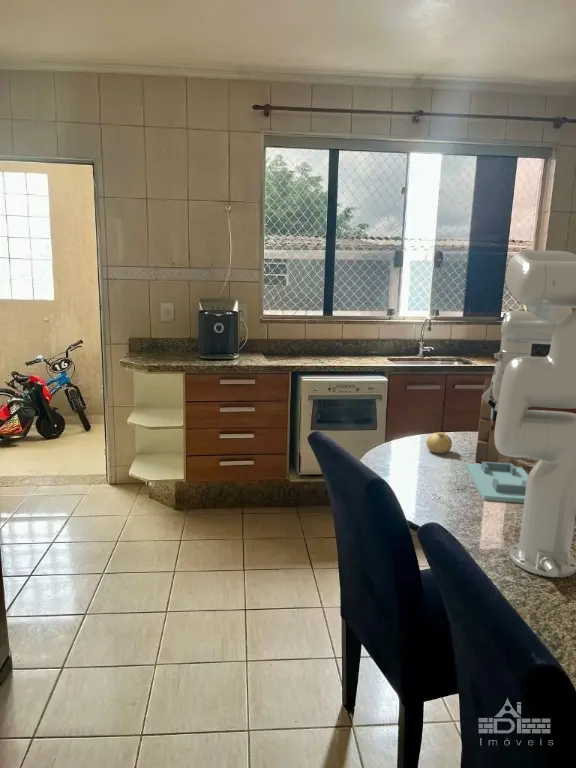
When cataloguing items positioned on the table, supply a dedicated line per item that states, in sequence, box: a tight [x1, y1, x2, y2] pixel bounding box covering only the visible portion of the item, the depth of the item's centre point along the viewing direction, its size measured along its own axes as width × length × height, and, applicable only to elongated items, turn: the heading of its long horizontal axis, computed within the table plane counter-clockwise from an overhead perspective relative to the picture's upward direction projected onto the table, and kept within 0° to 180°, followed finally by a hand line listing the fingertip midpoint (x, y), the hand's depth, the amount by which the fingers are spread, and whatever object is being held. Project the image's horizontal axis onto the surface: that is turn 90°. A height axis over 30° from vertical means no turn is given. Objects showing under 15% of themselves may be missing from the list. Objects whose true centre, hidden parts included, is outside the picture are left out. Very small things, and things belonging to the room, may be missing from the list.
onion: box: [425, 431, 453, 455], centre depth 181 cm, size 8×8×7 cm
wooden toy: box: [474, 378, 500, 464], centre depth 177 cm, size 16×7×25 cm, turn 160°
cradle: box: [465, 462, 529, 504], centre depth 156 cm, size 24×16×3 cm, turn 174°
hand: (507, 424), depth 152 cm, fingers closed on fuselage, 5 cm apart
